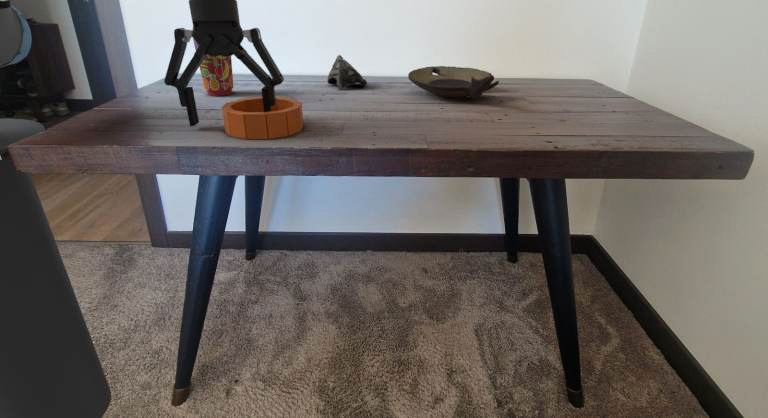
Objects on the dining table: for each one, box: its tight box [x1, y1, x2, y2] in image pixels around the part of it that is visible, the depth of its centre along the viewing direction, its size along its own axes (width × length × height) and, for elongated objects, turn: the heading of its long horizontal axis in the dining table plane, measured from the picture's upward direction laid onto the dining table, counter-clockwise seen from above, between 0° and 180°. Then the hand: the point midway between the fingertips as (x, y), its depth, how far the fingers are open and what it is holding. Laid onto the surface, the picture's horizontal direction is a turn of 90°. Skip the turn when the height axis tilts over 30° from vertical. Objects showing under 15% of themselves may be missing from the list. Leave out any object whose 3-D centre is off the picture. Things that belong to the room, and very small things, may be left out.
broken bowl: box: [407, 65, 500, 99], centre depth 108 cm, size 22×30×8 cm
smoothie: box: [192, 38, 234, 97], centre depth 105 cm, size 8×8×20 cm
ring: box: [221, 96, 304, 140], centre depth 81 cm, size 14×14×4 cm
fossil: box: [326, 54, 368, 90], centre depth 118 cm, size 11×9×10 cm
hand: (232, 123), depth 81 cm, fingers open, 13 cm apart
